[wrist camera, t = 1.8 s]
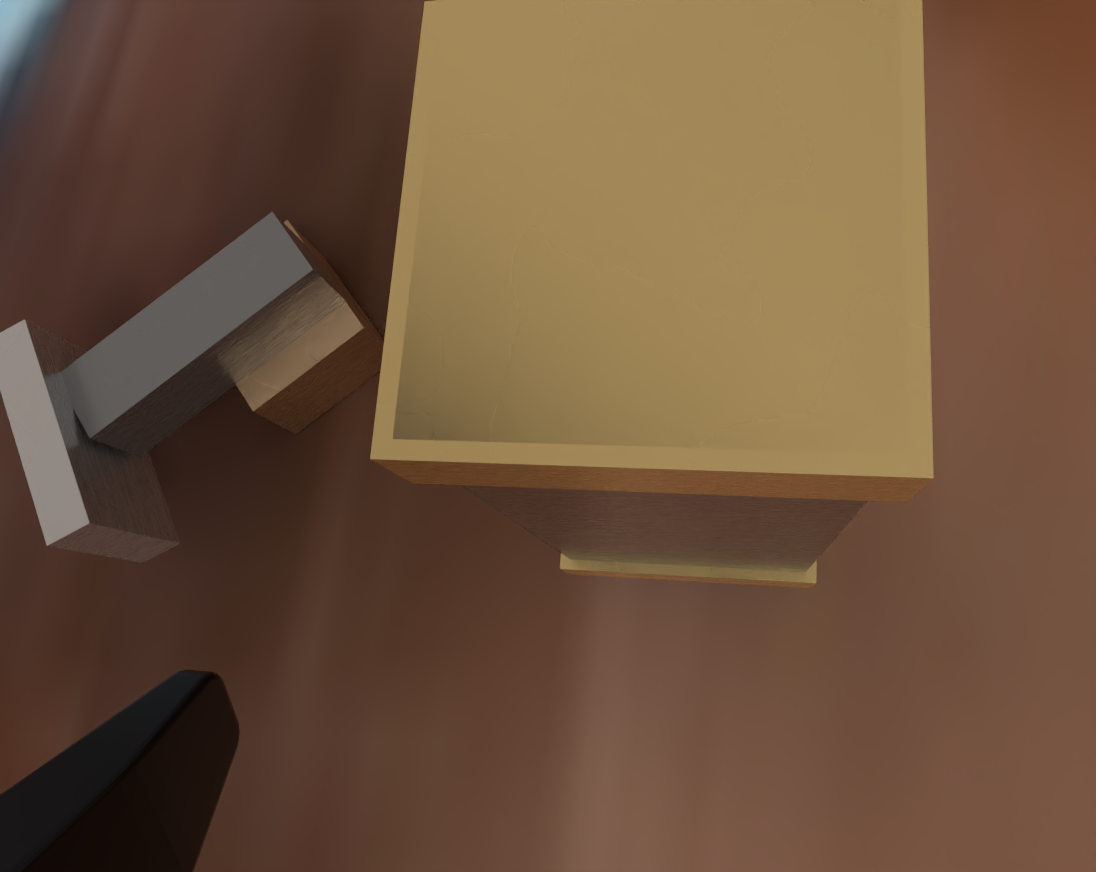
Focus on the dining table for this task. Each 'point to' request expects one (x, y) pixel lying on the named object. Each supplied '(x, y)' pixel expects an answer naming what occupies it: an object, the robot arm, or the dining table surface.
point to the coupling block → (665, 277)
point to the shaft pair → (178, 383)
